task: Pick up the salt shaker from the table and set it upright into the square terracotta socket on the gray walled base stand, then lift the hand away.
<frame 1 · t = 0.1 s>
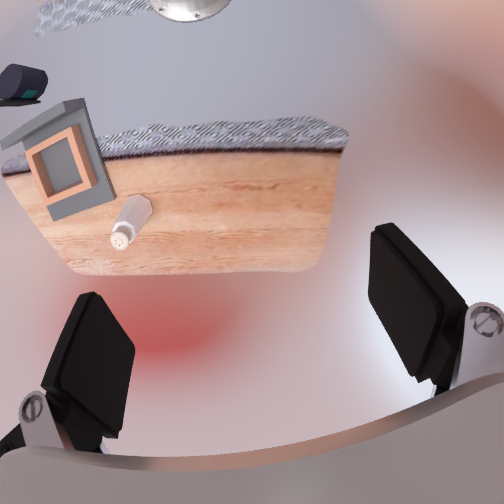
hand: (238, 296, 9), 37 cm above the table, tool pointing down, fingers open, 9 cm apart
salt shaker: (138, 207, 45), on the table
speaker: (34, 84, 30), on the table
gray walled base stand: (65, 162, 39), on the table
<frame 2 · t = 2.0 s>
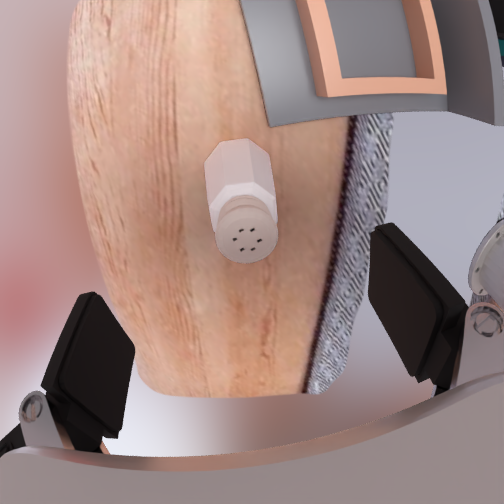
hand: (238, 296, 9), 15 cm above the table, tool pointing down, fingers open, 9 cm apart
salt shaker: (237, 169, 22), on the table
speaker: (483, 34, 14), on the table
gray walled base stand: (362, 31, 16), on the table
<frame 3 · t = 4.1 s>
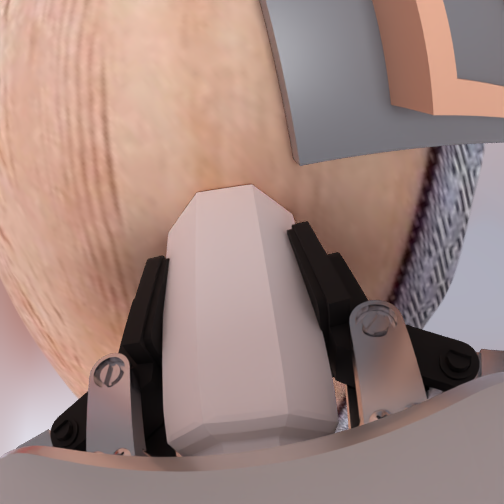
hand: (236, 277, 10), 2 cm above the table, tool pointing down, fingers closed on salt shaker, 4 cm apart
salt shaker: (233, 240, 12), on the table, touching gripper
gray walled base stand: (449, 2, 6), on the table
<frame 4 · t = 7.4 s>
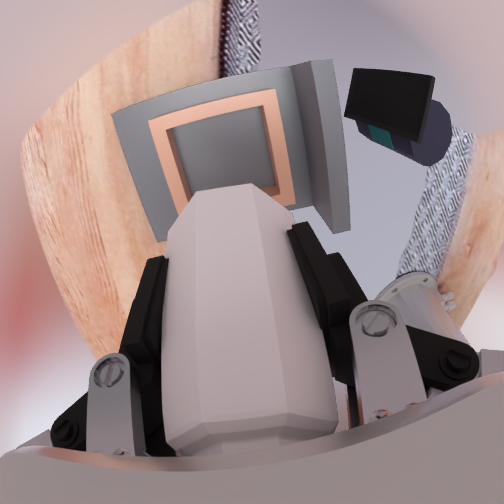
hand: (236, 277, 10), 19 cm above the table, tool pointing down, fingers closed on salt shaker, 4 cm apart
salt shaker: (232, 239, 12), point 16 cm above the table, touching gripper
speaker: (376, 107, 25), on the table
gray walled base stand: (224, 152, 26), on the table
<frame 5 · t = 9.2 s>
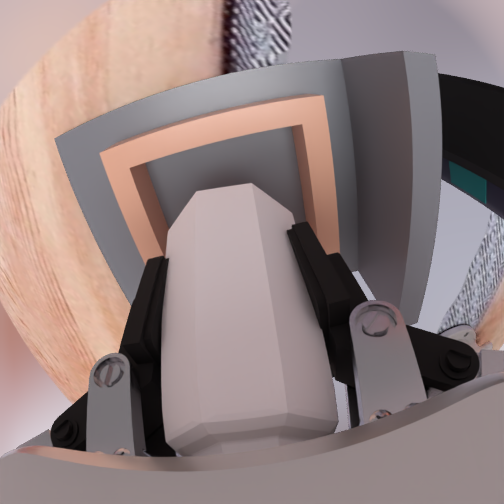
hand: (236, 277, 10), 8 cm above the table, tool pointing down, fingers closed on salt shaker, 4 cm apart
salt shaker: (232, 239, 12), point 5 cm above the table, touching gripper
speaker: (447, 130, 16), on the table
gray walled base stand: (231, 196, 17), on the table
when the fingers open (5 cm above the table, at t = 10.7 s): salt shaker drops 1 cm, resting on gray walled base stand.
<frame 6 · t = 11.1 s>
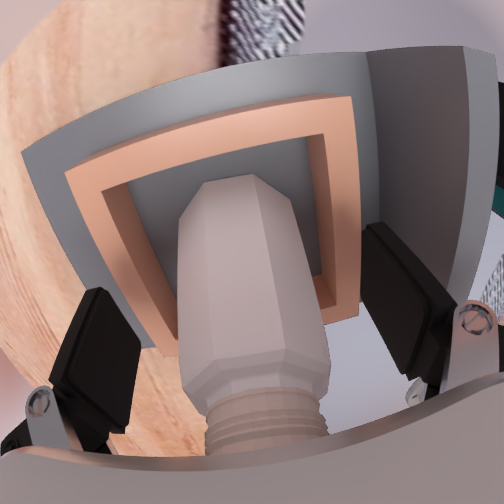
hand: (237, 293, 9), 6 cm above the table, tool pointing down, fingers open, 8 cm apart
salt shaker: (237, 225, 14), point 1 cm above the table, touching gray walled base stand
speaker: (476, 140, 13), on the table
gray walled base stand: (230, 217, 14), on the table
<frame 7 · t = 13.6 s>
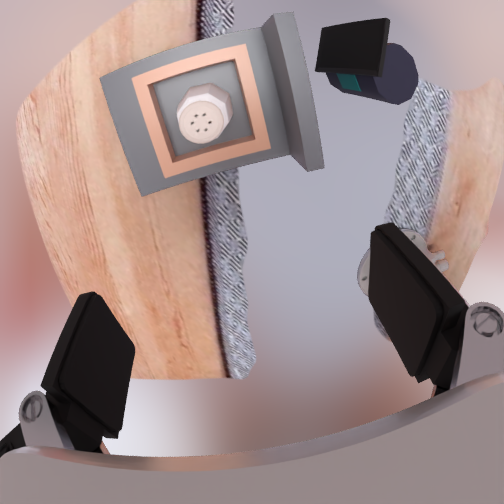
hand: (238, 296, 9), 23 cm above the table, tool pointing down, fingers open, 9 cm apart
salt shaker: (205, 108, 25), point 1 cm above the table, touching gray walled base stand
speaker: (346, 63, 25), on the table
gray walled base stand: (203, 107, 26), on the table
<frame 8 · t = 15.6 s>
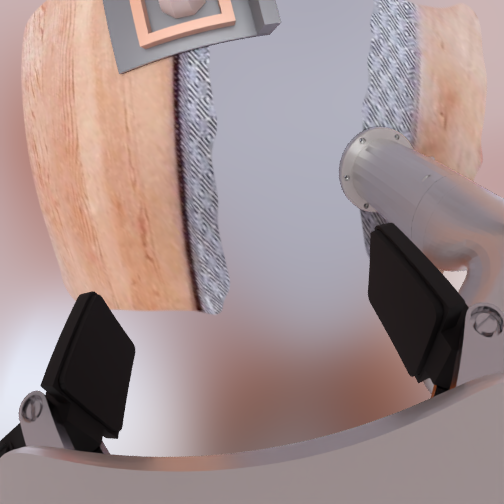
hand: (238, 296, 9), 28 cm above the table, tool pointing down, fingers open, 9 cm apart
salt shaker: (183, 0, 22), point 1 cm above the table, touching gray walled base stand
gray walled base stand: (181, 2, 23), on the table
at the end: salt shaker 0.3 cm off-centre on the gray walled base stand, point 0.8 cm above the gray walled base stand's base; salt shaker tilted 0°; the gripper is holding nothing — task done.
